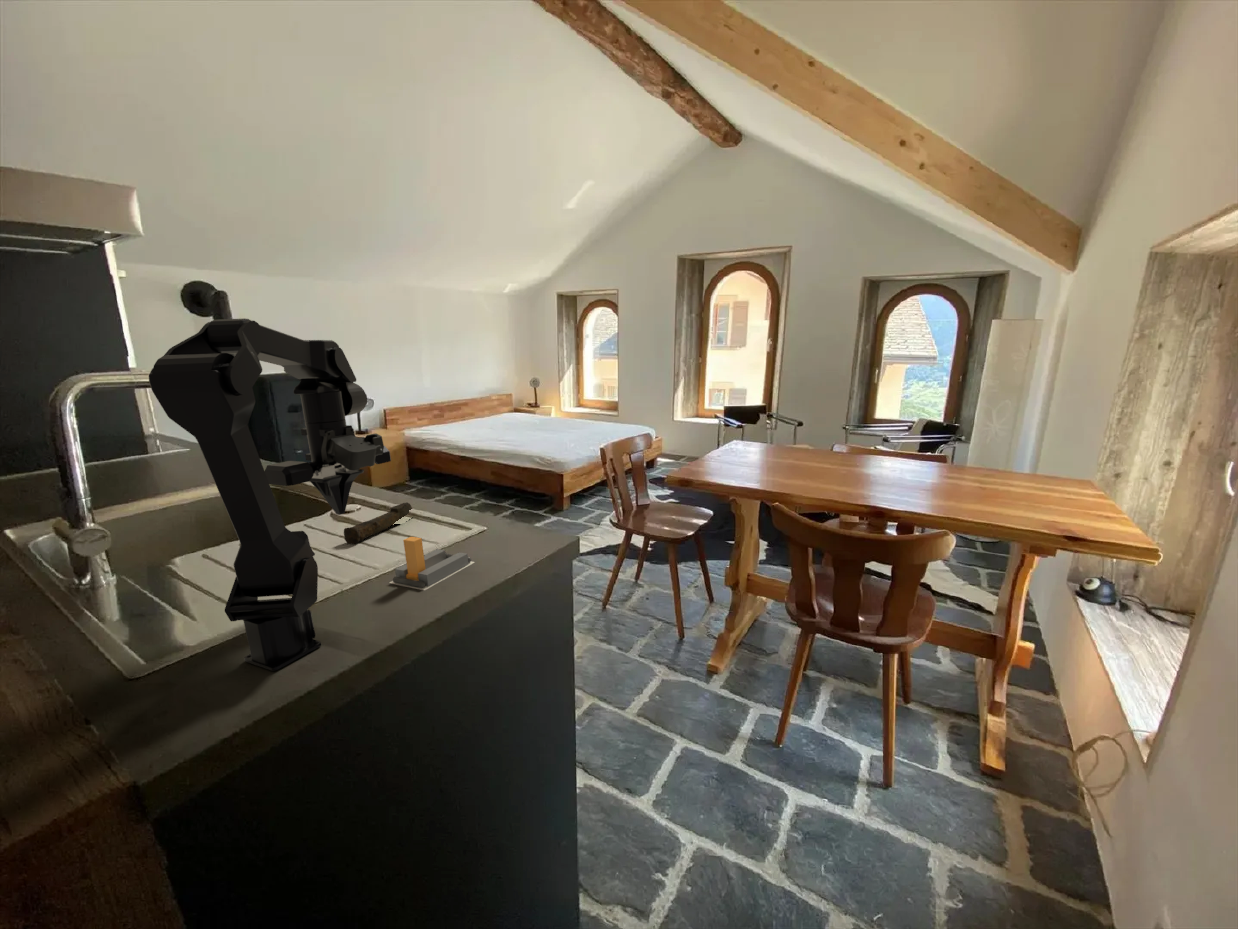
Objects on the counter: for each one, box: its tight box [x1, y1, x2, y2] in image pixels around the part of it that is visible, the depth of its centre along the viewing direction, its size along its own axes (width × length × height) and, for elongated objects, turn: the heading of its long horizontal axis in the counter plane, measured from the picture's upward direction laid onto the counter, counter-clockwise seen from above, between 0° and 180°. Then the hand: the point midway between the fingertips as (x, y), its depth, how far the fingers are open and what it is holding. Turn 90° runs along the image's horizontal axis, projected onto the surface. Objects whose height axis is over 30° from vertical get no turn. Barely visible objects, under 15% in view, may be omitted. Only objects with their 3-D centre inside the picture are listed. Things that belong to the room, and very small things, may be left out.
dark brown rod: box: [343, 502, 413, 545], centre depth 117 cm, size 19×4×5 cm, turn 158°
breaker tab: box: [402, 536, 426, 581], centre depth 85 cm, size 2×2×7 cm
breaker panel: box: [388, 548, 476, 591], centre depth 89 cm, size 12×8×4 cm, turn 155°
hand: (340, 514), depth 85 cm, fingers closed
